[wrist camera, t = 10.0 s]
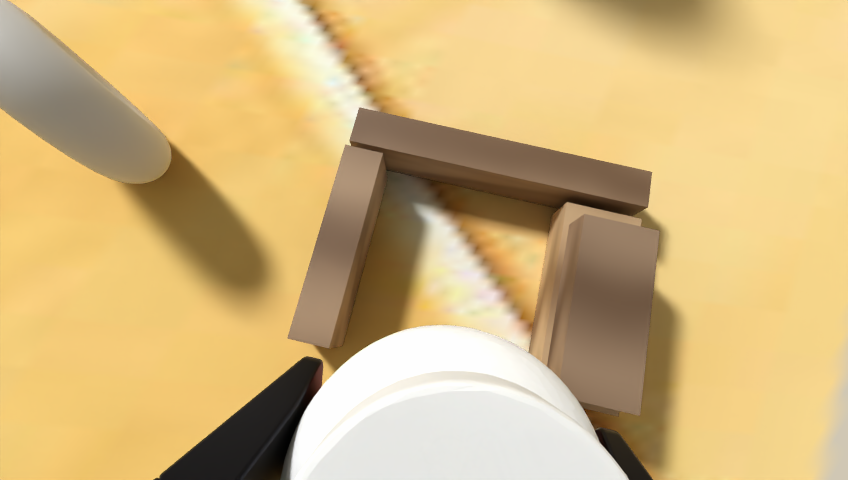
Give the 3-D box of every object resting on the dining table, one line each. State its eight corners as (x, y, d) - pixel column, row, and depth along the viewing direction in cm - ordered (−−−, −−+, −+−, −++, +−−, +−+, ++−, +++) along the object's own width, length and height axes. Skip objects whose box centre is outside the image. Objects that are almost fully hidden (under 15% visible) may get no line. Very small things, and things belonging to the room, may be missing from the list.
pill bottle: (476, 304, 16) (598, 244, 5) (541, 463, 15) (872, 806, 4) (326, 363, 16) (121, 429, 5) (381, 534, 14) (270, 1158, 3)
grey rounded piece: (217, 177, 24) (83, 73, 14) (172, 219, 24) (0, 140, 14) (109, 77, 26) (-80, -80, 16) (64, 114, 25) (-162, -26, 15)
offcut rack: (595, 407, 22) (641, 426, 17) (307, 337, 22) (280, 338, 18) (623, 191, 24) (669, 160, 20) (366, 133, 25) (355, 91, 21)
